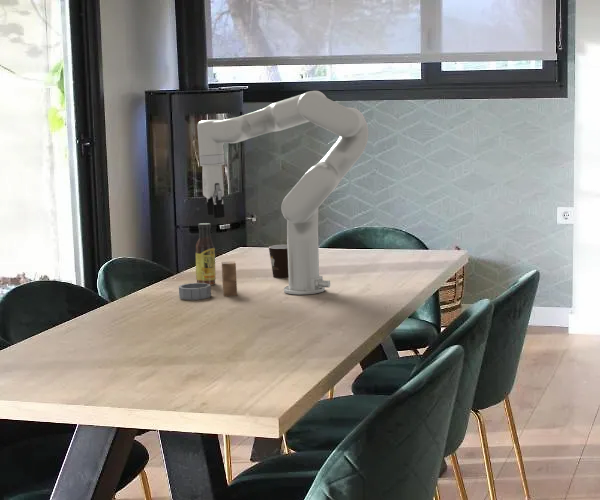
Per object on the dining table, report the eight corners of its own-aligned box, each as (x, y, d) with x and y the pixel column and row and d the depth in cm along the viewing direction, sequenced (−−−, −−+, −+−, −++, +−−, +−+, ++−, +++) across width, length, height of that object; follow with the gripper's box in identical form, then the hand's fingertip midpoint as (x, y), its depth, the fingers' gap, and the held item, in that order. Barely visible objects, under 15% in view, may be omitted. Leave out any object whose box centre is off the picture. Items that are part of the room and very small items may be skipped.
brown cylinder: (235, 293, 345) (234, 261, 344) (237, 295, 341) (235, 263, 340) (223, 293, 345) (221, 261, 343) (224, 296, 341) (222, 263, 339)
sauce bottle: (206, 287, 357) (203, 225, 354) (192, 285, 360) (189, 224, 357) (220, 283, 362) (217, 222, 359) (206, 282, 366) (203, 222, 363)
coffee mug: (295, 278, 367) (294, 248, 365) (269, 279, 367) (268, 249, 365) (296, 272, 378) (295, 243, 377) (270, 273, 378) (269, 243, 377)
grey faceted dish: (209, 292, 347) (209, 282, 346) (211, 298, 337) (211, 287, 337) (178, 294, 345) (178, 284, 345) (180, 300, 336) (179, 289, 335)
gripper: (194, 160, 349) (198, 214, 352) (205, 162, 333) (209, 219, 335) (218, 158, 351) (221, 212, 354) (230, 161, 335) (233, 217, 337)
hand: (215, 215), depth 344 cm, fingers open, 9 cm apart
